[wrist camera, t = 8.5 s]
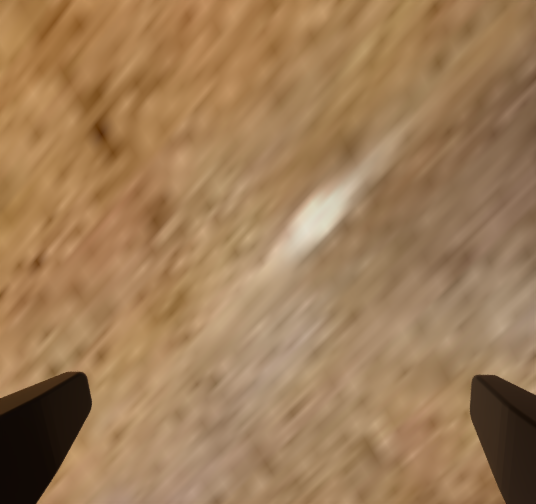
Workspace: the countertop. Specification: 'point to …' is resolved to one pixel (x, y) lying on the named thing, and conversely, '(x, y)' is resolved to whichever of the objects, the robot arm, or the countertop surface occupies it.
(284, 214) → the countertop surface
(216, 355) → the countertop surface
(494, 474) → the robot arm
